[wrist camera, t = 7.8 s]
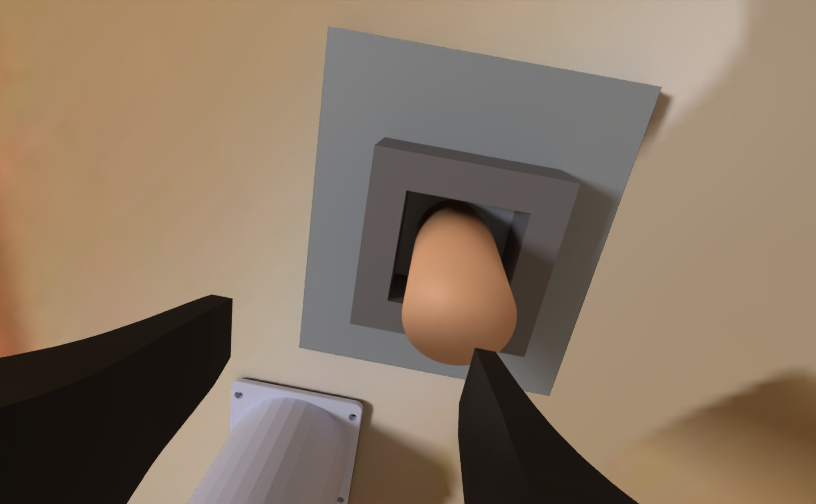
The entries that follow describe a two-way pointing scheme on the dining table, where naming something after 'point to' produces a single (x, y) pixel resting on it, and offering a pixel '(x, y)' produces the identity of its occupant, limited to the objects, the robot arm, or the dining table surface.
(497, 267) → the peg
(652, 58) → the dining table surface
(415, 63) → the socket board
